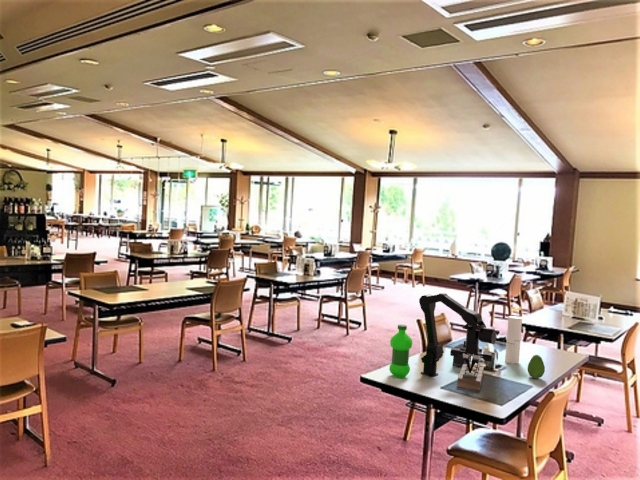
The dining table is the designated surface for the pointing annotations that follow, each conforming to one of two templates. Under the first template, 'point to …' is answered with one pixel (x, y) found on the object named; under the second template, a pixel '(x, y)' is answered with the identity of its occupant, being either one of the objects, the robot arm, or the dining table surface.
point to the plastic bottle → (400, 353)
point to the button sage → (470, 373)
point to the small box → (459, 357)
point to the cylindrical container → (513, 339)
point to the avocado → (536, 367)
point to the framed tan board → (470, 378)
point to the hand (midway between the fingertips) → (470, 372)
